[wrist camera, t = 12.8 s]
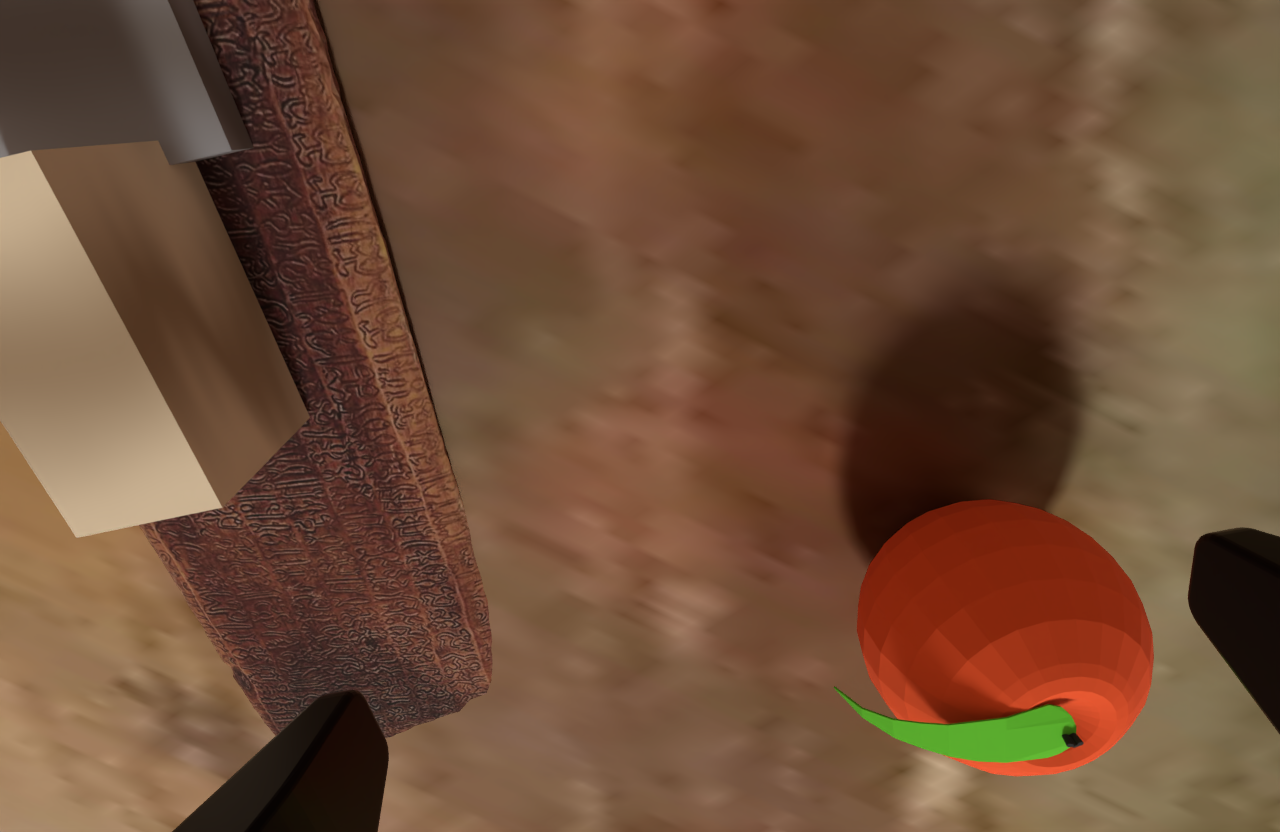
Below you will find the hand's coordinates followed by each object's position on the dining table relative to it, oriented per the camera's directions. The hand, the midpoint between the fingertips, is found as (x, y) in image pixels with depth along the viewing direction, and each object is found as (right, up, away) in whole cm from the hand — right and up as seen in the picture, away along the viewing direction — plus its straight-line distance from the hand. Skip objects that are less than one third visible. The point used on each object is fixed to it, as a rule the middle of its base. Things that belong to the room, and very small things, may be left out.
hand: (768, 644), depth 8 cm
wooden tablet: (-12, +3, +12) cm, 18 cm away
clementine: (+7, -2, +14) cm, 16 cm away
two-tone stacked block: (-13, +6, +9) cm, 17 cm away
